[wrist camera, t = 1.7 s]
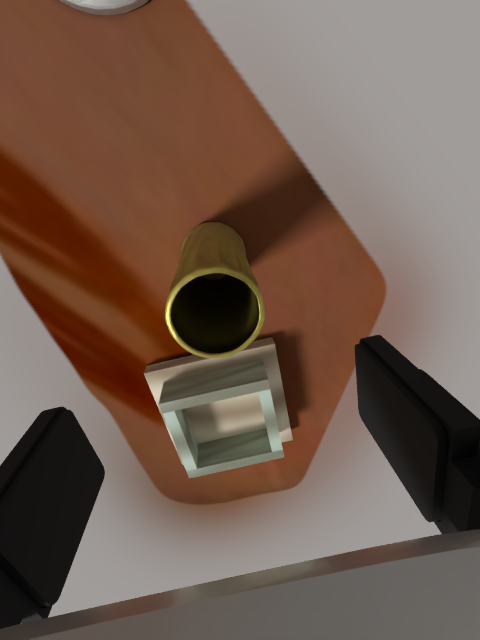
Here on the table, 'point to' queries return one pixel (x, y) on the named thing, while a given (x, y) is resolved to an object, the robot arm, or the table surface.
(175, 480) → the table surface
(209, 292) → the vase
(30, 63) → the table surface
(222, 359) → the vase stand
